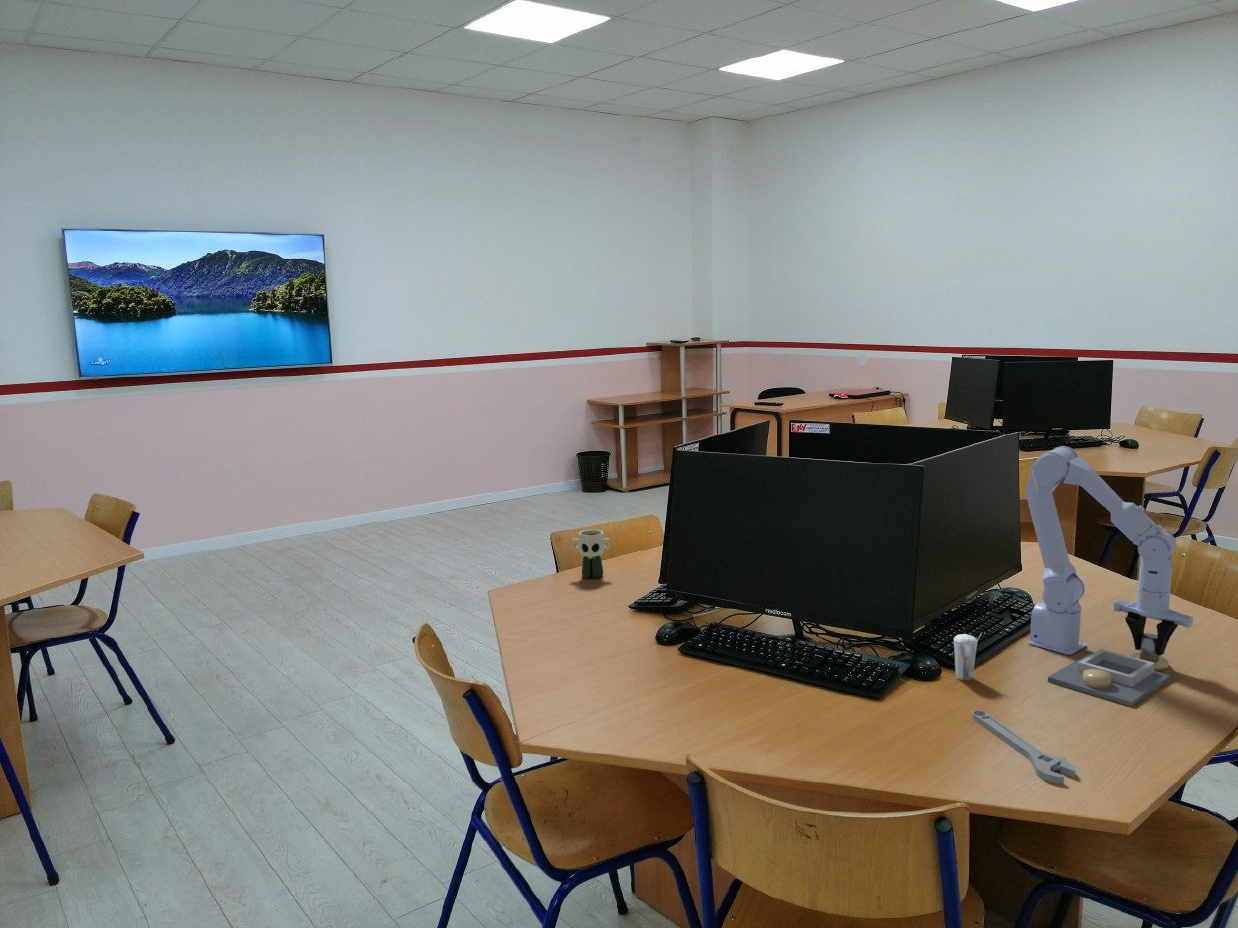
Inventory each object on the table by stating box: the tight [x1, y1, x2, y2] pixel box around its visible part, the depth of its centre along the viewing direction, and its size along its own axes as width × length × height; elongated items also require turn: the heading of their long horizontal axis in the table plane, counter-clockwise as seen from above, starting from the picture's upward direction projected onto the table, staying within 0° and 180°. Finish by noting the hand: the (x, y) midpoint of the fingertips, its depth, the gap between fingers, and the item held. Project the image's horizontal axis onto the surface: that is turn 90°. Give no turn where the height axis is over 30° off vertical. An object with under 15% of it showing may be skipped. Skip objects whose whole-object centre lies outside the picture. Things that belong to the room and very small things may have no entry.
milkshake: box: [953, 631, 983, 682], centre depth 189 cm, size 4×5×10 cm
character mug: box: [572, 529, 611, 578], centre depth 266 cm, size 11×7×13 cm, turn 85°
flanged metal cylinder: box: [1130, 632, 1169, 672], centre depth 193 cm, size 7×7×6 cm
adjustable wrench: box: [971, 709, 1076, 785], centre depth 161 cm, size 25×6×2 cm, turn 8°
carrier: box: [1047, 648, 1171, 708], centre depth 186 cm, size 16×18×3 cm
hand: (1149, 651), depth 193 cm, fingers closed on flanged metal cylinder, 4 cm apart
